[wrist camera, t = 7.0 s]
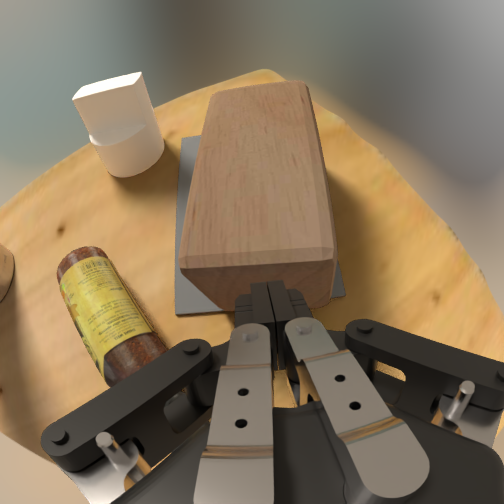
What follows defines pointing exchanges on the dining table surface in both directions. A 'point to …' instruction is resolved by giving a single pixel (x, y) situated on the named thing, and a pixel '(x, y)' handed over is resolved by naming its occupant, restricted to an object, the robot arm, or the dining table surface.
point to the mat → (185, 291)
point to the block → (260, 198)
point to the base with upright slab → (121, 124)
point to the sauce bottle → (107, 316)
